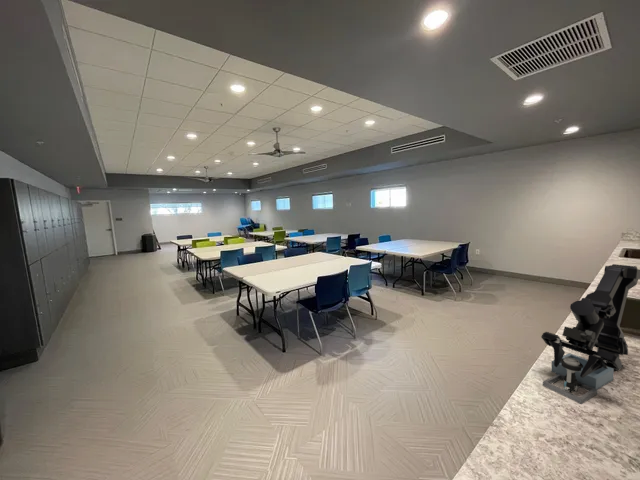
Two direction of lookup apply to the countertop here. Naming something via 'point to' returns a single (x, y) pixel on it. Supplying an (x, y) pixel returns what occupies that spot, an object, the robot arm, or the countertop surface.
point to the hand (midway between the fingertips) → (567, 371)
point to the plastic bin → (592, 379)
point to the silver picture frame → (578, 399)
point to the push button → (571, 373)
